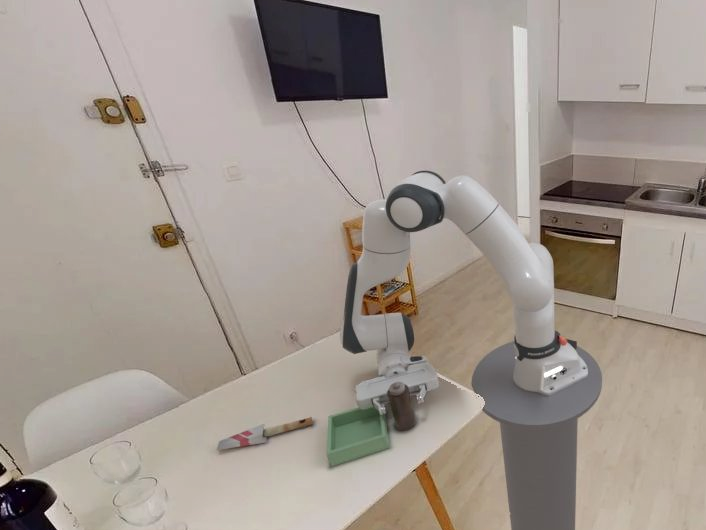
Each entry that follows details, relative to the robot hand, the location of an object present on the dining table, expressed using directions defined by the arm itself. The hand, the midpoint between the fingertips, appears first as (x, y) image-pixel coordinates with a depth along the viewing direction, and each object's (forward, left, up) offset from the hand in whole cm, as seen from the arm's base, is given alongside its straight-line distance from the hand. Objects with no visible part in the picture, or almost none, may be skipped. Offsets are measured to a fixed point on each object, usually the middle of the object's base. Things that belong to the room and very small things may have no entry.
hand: (401, 406), depth 100 cm
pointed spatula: (+32, -11, -7) cm, 34 cm away
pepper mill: (0, -1, -7) cm, 7 cm away
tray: (+11, -1, -7) cm, 13 cm away
